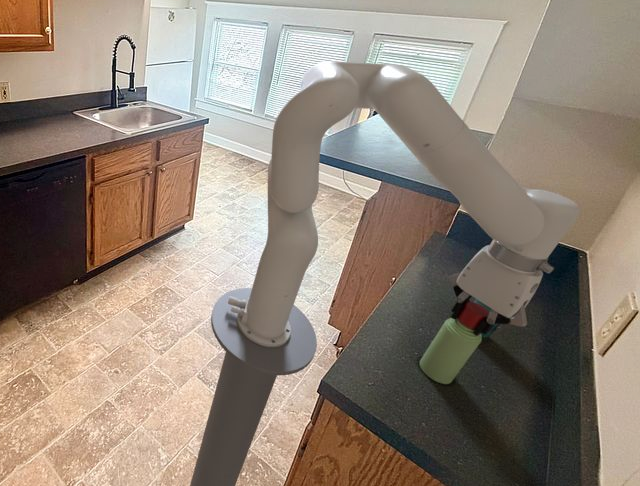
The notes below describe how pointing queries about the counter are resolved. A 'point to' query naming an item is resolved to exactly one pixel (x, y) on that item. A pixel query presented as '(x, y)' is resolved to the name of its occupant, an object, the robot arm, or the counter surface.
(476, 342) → the sauce bottle
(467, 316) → the cap
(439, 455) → the counter surface
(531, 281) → the robot arm
